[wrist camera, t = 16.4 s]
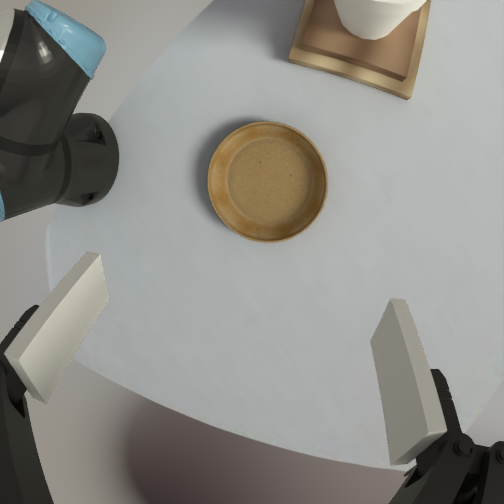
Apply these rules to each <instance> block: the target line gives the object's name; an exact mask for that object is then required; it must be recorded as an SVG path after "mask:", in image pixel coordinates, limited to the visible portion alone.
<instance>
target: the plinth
mask: <svg viewBox="0 0 504 504" xmlns="http://www.w3.org/2000/svg"><path fill="white" fill-rule="evenodd" d="M430 3H431V1H430V0H426V2H425V3H424V4H423V5H422V6H421V7H420V8H419V9H418V10H416V11H413V12H412V13H410V14H409V15H408V16H407V17H406V18H405V19H404V20H403V21H402V22H401V23H400V24H399V25H398V26H396V27H395V28H394V29H393V30H392V31H391V32H390V33H389V34H388V35H387V36H385V37H382V38H379V39H376V40H372V39H362V38H360V37H358V36H356V35H354V34H351V33H350V32H349V31H348V30H347V29H346V28H345V27H344V26H343V25H342V22H341V20H340V17H339V14H338V12H337V8H336V5H335V2H334V0H306V1H305V4H304V7H303V11H302V14H301V17H300V21H299V24H298V27H297V31H296V34H295V37H294V41H293V44H292V47H291V51H290V54H289V57H288V59H289V61H290V63H294V64H298V65H302V66H306V67H310V68H314V69H318V70H321V71H325V72H328V73H332V74H335V75H338V76H342V77H345V78H348V79H351V80H354V81H357V82H360V83H363V84H366V85H369V86H372V87H375V88H377V89H380V90H383V91H385V92H388V93H391V94H393V95H396V96H398V97H401V98H403V99H406V100H408V99H410V98H411V96H412V92H413V88H414V84H415V80H416V76H417V71H418V67H419V63H420V58H421V53H422V48H423V43H424V38H425V33H426V27H427V22H428V16H429V10H430Z"/></svg>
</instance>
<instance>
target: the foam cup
mask: <svg viewBox="0 0 504 504" xmlns="http://www.w3.org/2000/svg"><path fill="white" fill-rule="evenodd" d="M334 2H335V5H336V8H337V12H338V14H339V17H340V20H341V22H342V25H343V26H344V27H345V28H346V29H347V30H348V31H349V32H350V33H351V34H354V35H356V36H358V37H360V38H362V39H372V40H376V39H379V38H382V37H385V36H387V35H388V34H389V33H390V32H391V31H392V30H393V29H394V28H395V27H396V26H398V25H399V24H400V23H401V22H402V21H403V20H404V19H405V18H406V17H407V16H408V15H409V14H410V13H412V12H413V11H416V10H418V9H419V8H420V7H421V6H422V5H423V4H424V3H425V2H426V0H334Z"/></svg>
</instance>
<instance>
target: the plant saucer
mask: <svg viewBox="0 0 504 504" xmlns="http://www.w3.org/2000/svg"><path fill="white" fill-rule="evenodd" d="M207 187H208V193H209V197H210V200H211V203H212V206H213V208H214V210H215V211H216V213H217V215H218V216H219V218H220V219H221V220H222V222H223V223H224V224H225V225H226V226H227V227H229V228H230V229H231V230H232V231H234V232H235V233H237V234H239V235H240V236H242V237H244V238H246V239H249V240H252V241H256V242H262V243H263V242H264V243H275V242H281V241H285V240H289V239H291V238H294V237H296V236H298V235H299V234H301V233H303V232H304V231H305V230H306V229H308V228H309V227H310V226H311V225H312V224H313V223H314V221H315V220H316V219H317V217H318V216H319V214H320V213H321V211H322V209H323V207H324V204H325V201H326V197H327V192H328V175H327V170H326V166H325V163H324V160H323V158H322V156H321V154H320V152H319V151H318V149H317V148H316V146H315V145H314V144H313V143H312V141H311V140H310V139H308V138H307V137H306V136H305V135H304V134H303V133H301V132H300V131H298V130H297V129H295V128H293V127H291V126H288V125H286V124H282V123H278V122H270V121H262V122H254V123H250V124H247V125H244V126H242V127H240V128H238V129H236V130H234V131H233V132H232V133H230V134H229V135H228V136H227V137H225V138H224V139H223V140H222V142H221V143H220V144H219V145H218V147H217V149H216V150H215V152H214V154H213V156H212V158H211V161H210V164H209V168H208V176H207Z"/></svg>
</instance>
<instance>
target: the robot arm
mask: <svg viewBox="0 0 504 504" xmlns="http://www.w3.org/2000/svg"><path fill="white" fill-rule="evenodd" d="M105 50H106V45H105V42H104V40H103V38H102V37H100V36H99V35H97V33H95V32H94V31H92V30H91V29H89V28H88V27H86V26H84V25H83V24H81V23H79V22H78V21H76V20H75V19H73V18H71V17H69V16H68V15H66V14H64V13H62V12H60V11H59V10H57V9H55V8H53V7H51V6H49V5H47V4H45V3H42V2H40V1H38V0H32V1H31V2H30V3H29V4H28V5H27V6H26V7H25V10H24V11H22V10H18V9H14V8H8V9H6V10H4V11H2V12H1V13H0V222H2V221H4V220H6V219H9V218H11V217H14V216H17V215H20V214H23V213H26V212H29V211H32V210H35V209H37V208H40V207H43V206H46V205H50V204H53V203H56V204H62V205H68V206H75V207H82V206H87V205H90V204H93V203H96V202H98V201H100V200H101V199H102V198H103V197H105V196H106V194H107V193H108V192H109V190H110V189H111V187H112V185H113V183H114V181H115V178H116V175H117V171H118V164H119V151H118V144H117V140H116V137H115V134H114V132H113V130H112V128H111V127H110V125H109V124H108V123H107V122H106V120H104V119H103V118H102V117H100V116H98V115H96V114H92V113H76V114H72V113H73V111H74V109H75V107H76V105H77V103H78V101H79V99H80V97H81V96H82V94H83V92H84V90H85V88H86V86H87V85H88V83H89V81H90V79H91V80H92V79H93V77H94V72H95V70H96V69H97V66H98V65H99V63H100V61H101V59H102V58H103V56H104V54H105ZM108 301H109V296H108V292H107V287H106V282H105V277H104V272H103V266H102V261H101V255H100V254H97V253H92V252H86V253H85V254H84V255H83V257H82V258H81V259H80V260H79V261H78V262H77V263H76V264H75V265H74V266H73V268H72V269H71V270H70V271H69V272H68V273H67V274H66V276H65V277H64V278H63V279H62V280H61V281H60V282H59V284H58V285H57V286H56V287H55V288H54V290H53V291H52V292H51V293H50V294H49V296H48V297H47V298H46V299H45V300H44V302H43V303H42V304H41V305H40V306H38V305H34V306H32V307H31V308H30V309H28V310H27V311H25V313H24V314H23V315H22V316H21V318H20V319H19V321H18V322H17V323H16V324H15V325H14V328H12V329H11V331H10V332H9V333H8V335H7V336H6V337H5V338H4V340H3V341H2V342H1V344H0V504H54V503H53V500H52V497H51V495H50V492H49V489H48V486H47V483H46V480H45V476H44V473H43V470H42V467H41V463H40V459H39V456H38V453H37V448H36V444H35V440H34V436H33V432H32V427H31V422H30V418H29V412H28V407H27V401H26V398H25V395H24V393H25V392H26V390H28V391H29V393H30V394H31V396H32V397H33V398H35V399H37V400H39V401H41V402H43V403H46V404H47V402H48V400H49V398H50V396H51V395H52V393H53V391H54V389H55V387H56V386H57V384H58V382H59V380H60V379H61V377H62V375H63V373H64V372H65V370H66V368H67V367H68V365H69V363H70V361H71V360H72V358H73V356H74V355H75V353H76V351H77V350H78V348H79V346H80V345H81V343H82V342H83V340H84V338H85V337H86V335H87V334H88V332H89V330H90V329H91V327H92V326H93V324H94V322H95V321H96V319H97V318H98V316H99V315H100V313H101V312H102V310H103V309H104V307H105V306H106V304H107V302H108ZM370 342H371V347H372V352H373V357H374V362H375V367H376V372H377V377H378V383H379V388H380V394H381V400H382V406H383V413H384V419H385V426H386V433H387V441H388V449H389V457H390V465H401V464H408V463H409V462H411V461H412V460H413V459H415V458H416V463H417V465H415V466H414V467H413V468H411V469H410V470H409V471H407V472H406V473H405V474H404V476H405V477H406V476H407V475H408V474H409V475H408V477H407V478H406V480H405V481H404V483H403V484H402V486H401V487H400V489H399V490H398V492H397V493H396V494H395V496H394V497H393V498H392V500H391V501H390V503H389V504H504V441H498V442H496V443H495V444H493V445H492V446H491V447H485V446H481V445H476V444H474V442H473V441H472V439H471V438H470V437H469V436H468V435H466V434H464V433H462V431H461V428H460V424H459V420H458V417H457V413H456V410H455V406H454V403H453V400H452V396H451V393H450V392H449V387H448V384H447V381H446V378H445V377H444V376H443V374H442V373H441V372H440V370H439V369H430V367H429V364H428V361H427V358H426V355H425V352H424V349H423V346H422V343H421V341H420V338H419V335H418V332H417V329H416V327H415V324H414V321H413V318H412V316H411V313H410V311H409V308H408V305H407V303H406V300H402V299H393V298H390V301H389V303H388V305H387V307H386V309H385V312H384V314H383V316H382V318H381V320H380V322H379V324H378V326H377V328H376V331H375V333H374V335H373V337H372V339H371V341H370Z"/></svg>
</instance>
